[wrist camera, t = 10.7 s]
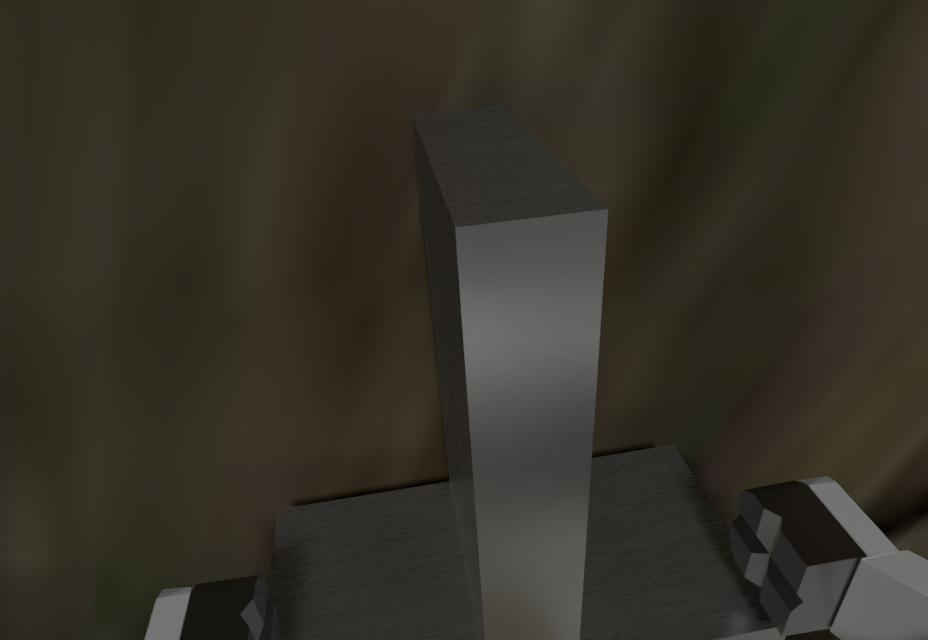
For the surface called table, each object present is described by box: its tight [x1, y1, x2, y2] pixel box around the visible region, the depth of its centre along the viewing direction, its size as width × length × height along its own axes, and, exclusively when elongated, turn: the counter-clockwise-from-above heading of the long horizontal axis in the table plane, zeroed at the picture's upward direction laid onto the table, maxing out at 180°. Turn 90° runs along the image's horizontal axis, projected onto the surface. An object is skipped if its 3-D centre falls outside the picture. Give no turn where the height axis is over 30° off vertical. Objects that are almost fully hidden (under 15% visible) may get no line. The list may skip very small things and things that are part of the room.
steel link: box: [267, 105, 786, 640], centre depth 12 cm, size 17×9×4 cm, turn 3°
